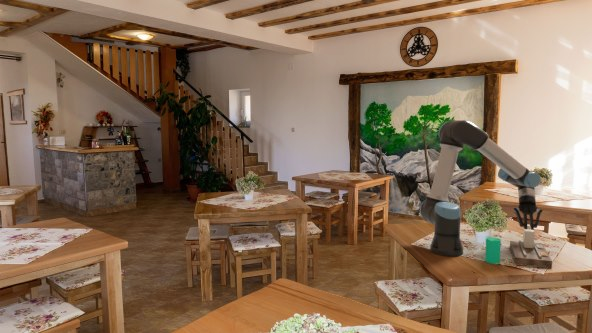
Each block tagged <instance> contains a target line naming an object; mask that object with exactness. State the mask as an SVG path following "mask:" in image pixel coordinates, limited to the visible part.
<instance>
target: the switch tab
mask: <svg viewBox="0 0 592 333" xmlns="http://www.w3.org/2000/svg"><path fill="white" fill-rule="evenodd" d="M522 242H523V246H524V248H534V242H535V230H530V229H524V228H523V240H522Z"/></svg>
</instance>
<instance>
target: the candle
mask: <svg viewBox="0 0 592 333" xmlns="http://www.w3.org/2000/svg"><path fill="white" fill-rule="evenodd" d="M501 241H502V239H500V238H499V237H494V235H492V236H491V237H490V236H486V237H485V254H484V256H485V258H484V259H485V262H486V263H488V264H493V265H494V264H495V265H497V264H500V262H501V246H502V245H501V244H502V243H501Z"/></svg>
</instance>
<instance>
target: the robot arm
mask: <svg viewBox="0 0 592 333" xmlns="http://www.w3.org/2000/svg"><path fill="white" fill-rule="evenodd" d="M438 137H439V143H438V144H439V146H440V148H441V149H440V153H439V157H438V159H437V165H436V169H435V172H434V177H433V181H432V184H431V188H430V192H429V193H428V194H427V195H426V196H425V200H423V201H422V202H421V204H420V205H419V214H420V216H421V218H422V219H423V220H424V221H425V222H427V223H428V224H431V225H433V226H434V230H433V231H434V235H433V237H432V240H431V243H430V246H429V249H430V252H431V253H433V254H436V255H440V256H448V257H456V256H461V255H463V254H464V247H463V244H462V238H461V216H462V214H461V207H460V206H459V205H458V204H457V203H453V202H450V199H449V198H448V195H449V191H450V188H451V183H452V180H453V175H454V173H455V168H456V164H457V160H458V158H459V157H458V156H459V153H460V151H462V150H463V149H464V146H467V147H469V148H471V149H472V150H474V151H478V152H479V153H481V154H482V155H483V156H484V157H486V158H487V159H488V160H489V161H491V162H492V163H493V164H494V165H496V166H497V167H498V168H499V170H498V173H497V177H498V178H499V179H500V180H502V181H504V182H506V183H508V184H510V185H512V186H514V187H515V188H517V191H518V206H517V207H514V208H513V210H512V211H513V213H514V214H515V216H516V219H517V222H518V224H519V227H521V228H523V230H524V229H530V230H534V228H536V229H537V228H538V226H539V221H540V217H541V216H542V214H543V209H539V208H538V207H537V203H536V190H535V188H536V187H538V186H539V185H540V183H541V176H540V174H539V173H537V172H534V171H531V170H529V169H528V168H527V167H526V166H525V165H523V164H522V163H520V161H518V160H517V159H515V158H514V157H513V156H512V155H510V154H509V153H508V152H507V151H505V149H503V148H502V147H501V146H499V145H498V144H497V143H496V142H494V141H493V140H492V139H491V138H490V137H489V134H488V133H487V132H485V131H484V130H483V129H482V128H481V127H480V126H478V125H476V124H475V123H473V122H471V121H469V120H459V119H457V120H455V119H453V120H448V121H445V122H443V123H442V124H441V126H440V127H439V128H438ZM521 213H522V214H523V218H522V217H521ZM535 213H536V214H537V215H536V218H535V223H534V214H535ZM528 218H529V225H528ZM534 231H535V230H534Z"/></svg>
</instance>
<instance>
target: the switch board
mask: <svg viewBox="0 0 592 333" xmlns="http://www.w3.org/2000/svg"><path fill="white" fill-rule="evenodd" d="M509 248H510V251H511V254H512V258H513V262H514V264H515V265H521V266H522V265H523V266H530V265H531V266H530V267H532V266H533V267H541V268H548V269H549V268H550V269H552V268H553V259H552V258H551V256H550V254H549V253H548V251H547V250H546V248H545V246H544V244H543V243H541V242H540V243H539V242H535V241H534V248H524V246H523V241H522V240H518V241H517V240H510V241H509Z"/></svg>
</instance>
